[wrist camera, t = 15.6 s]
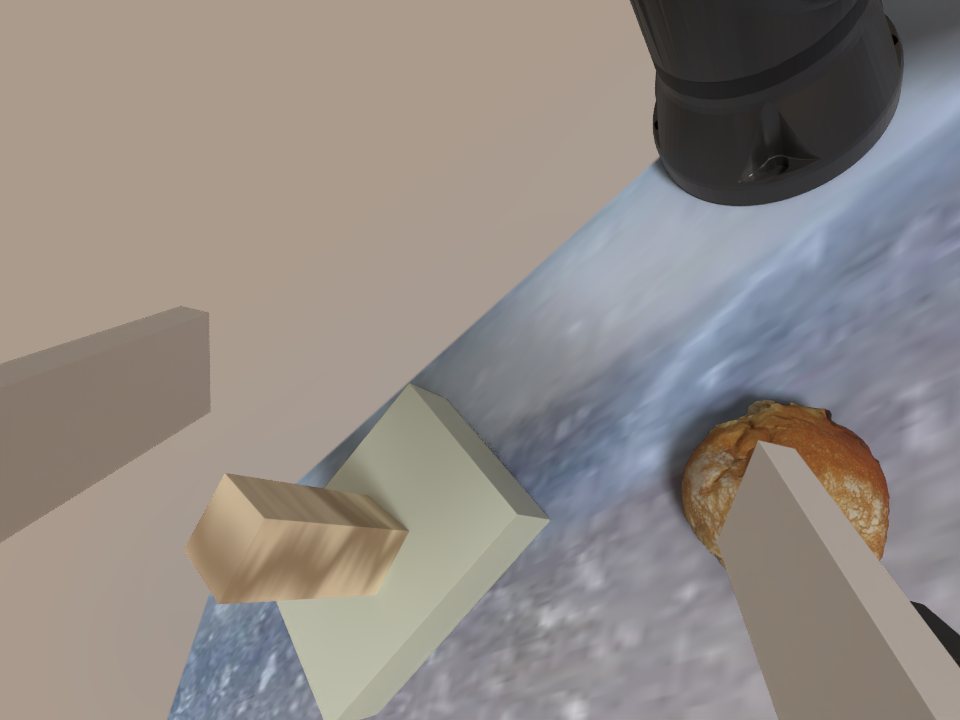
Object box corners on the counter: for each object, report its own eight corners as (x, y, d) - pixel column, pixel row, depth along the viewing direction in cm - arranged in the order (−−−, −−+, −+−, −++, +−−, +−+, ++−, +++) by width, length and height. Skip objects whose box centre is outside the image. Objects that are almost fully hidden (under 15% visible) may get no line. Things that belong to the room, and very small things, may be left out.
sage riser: (446, 399, 46) (409, 383, 42) (551, 519, 37) (517, 514, 33) (308, 565, 48) (261, 565, 44) (378, 713, 40) (327, 729, 36)
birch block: (368, 495, 40) (224, 473, 31) (409, 531, 37) (264, 518, 28) (336, 554, 40) (183, 550, 31) (375, 595, 37) (218, 604, 28)
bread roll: (689, 516, 36) (639, 563, 30) (728, 373, 33) (682, 393, 27) (862, 595, 30) (842, 673, 24) (926, 428, 27) (922, 469, 21)
